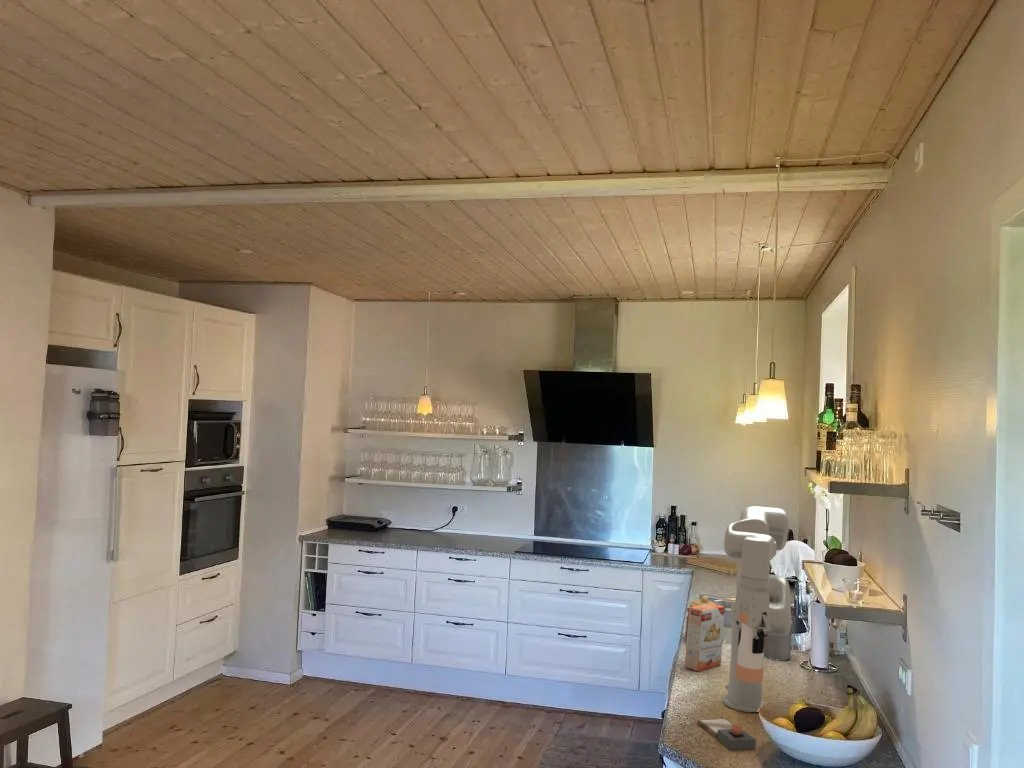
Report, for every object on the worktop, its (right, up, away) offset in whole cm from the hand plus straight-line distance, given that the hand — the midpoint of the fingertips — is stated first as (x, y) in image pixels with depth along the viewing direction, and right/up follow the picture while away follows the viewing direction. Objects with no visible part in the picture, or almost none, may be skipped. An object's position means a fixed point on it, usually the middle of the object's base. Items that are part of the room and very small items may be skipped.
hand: (750, 648), depth 211 cm
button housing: (-6, -23, -8) cm, 25 cm away
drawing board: (-8, -23, +1) cm, 24 cm away
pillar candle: (+33, -29, +75) cm, 87 cm away
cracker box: (+1, -26, +57) cm, 62 cm away
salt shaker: (-1, -8, 0) cm, 8 cm away
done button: (-6, -20, -8) cm, 22 cm away
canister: (+8, -28, +88) cm, 93 cm away
